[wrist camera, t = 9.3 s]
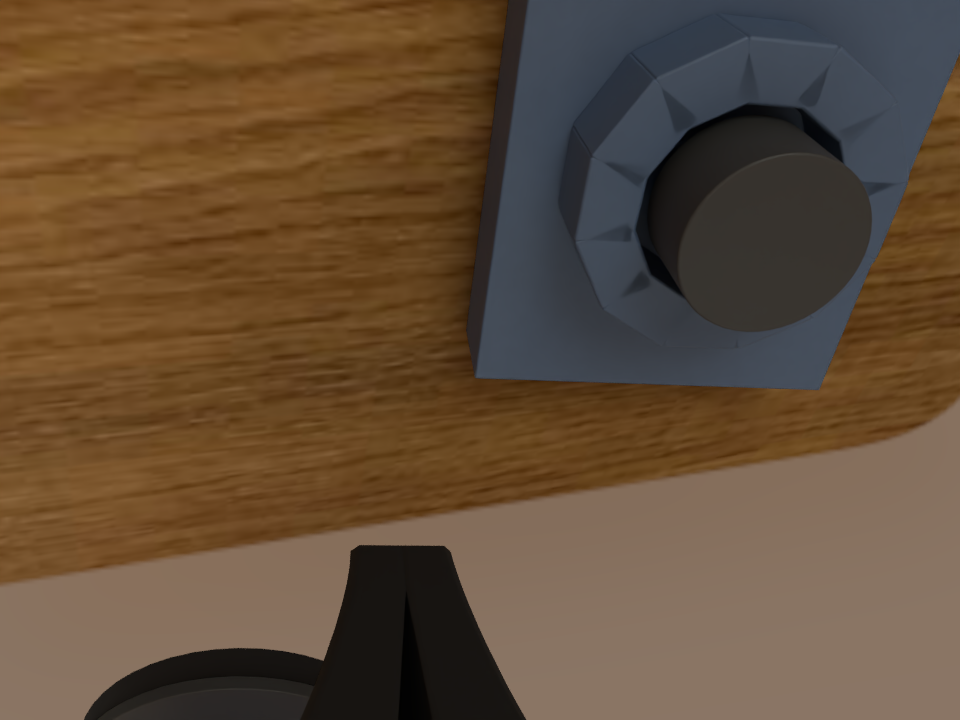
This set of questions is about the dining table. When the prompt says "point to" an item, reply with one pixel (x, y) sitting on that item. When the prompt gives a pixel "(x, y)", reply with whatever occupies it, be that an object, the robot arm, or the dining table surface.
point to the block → (644, 151)
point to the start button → (758, 223)
